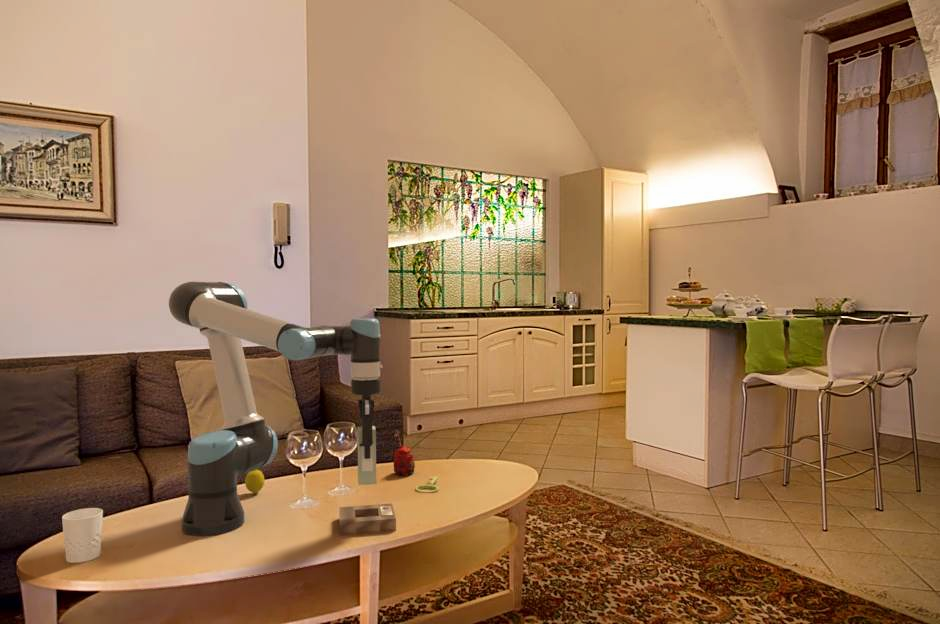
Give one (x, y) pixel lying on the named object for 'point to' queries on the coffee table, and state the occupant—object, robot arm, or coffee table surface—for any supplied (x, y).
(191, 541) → the coffee table surface
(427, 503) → the coffee table surface
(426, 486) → the key
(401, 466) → the red clay folk toy
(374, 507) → the socket block
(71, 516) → the white cup
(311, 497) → the coffee table surface
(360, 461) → the sage peg
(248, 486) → the fruit
